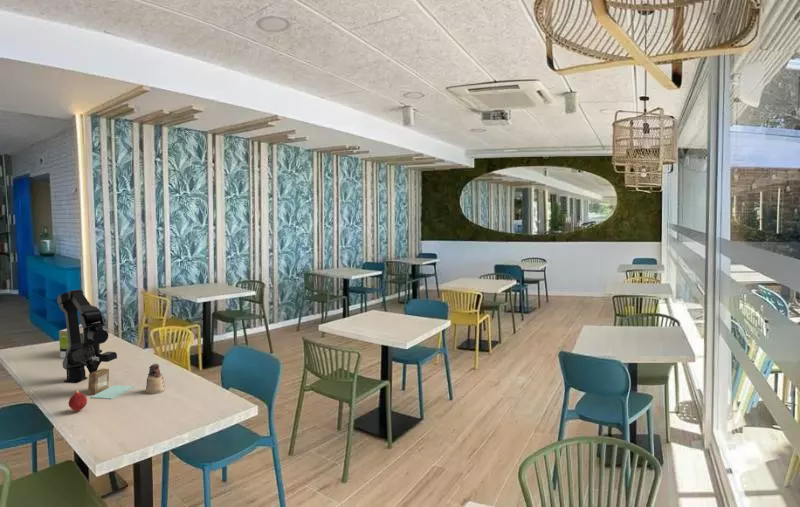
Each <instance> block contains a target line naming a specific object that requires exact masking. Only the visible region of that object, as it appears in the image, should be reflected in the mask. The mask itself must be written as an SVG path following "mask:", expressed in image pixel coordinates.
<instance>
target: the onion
mask: <svg viewBox="0 0 800 507" xmlns="http://www.w3.org/2000/svg"><path fill="white" fill-rule="evenodd" d="M87 402H88V398H87V396H86V395H85V394H84V393H82V392H80V391H79V390H76V391H75V392H74V394H73V395H72V396H71V397H70V398H69V401H68V407H69V408H70V409H72V410H73V411H75V412H80V411H82V409H84V408H85V407H86V405H87Z"/></svg>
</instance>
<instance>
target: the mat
mask: <svg viewBox="0 0 800 507" xmlns="http://www.w3.org/2000/svg"><path fill="white" fill-rule="evenodd" d="M133 388H134V385H122V384H121V385H120V384H119V385H118V384H112V386H110V387H109V386H108V388H107V389H105V390H103V391H101V392H99V393H97V394H95V395H91V397H90V399H101V398H102V399H103V400H104V399H105V400H113V399H115V398H116V397H118V396H120V395H122V394H123V393H125V392H127V391H130V389H133ZM102 399H101V400H102Z"/></svg>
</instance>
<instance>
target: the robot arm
mask: <svg viewBox="0 0 800 507" xmlns="http://www.w3.org/2000/svg"><path fill="white" fill-rule="evenodd" d="M56 301H57V304H58V305H59V309H60V310H61V312H63V313H64V318H65V324H66V329H67V334H68V342H69V347H68V349H67V351H66V353H65V354H66V356H65V358H63V360H62V363H61V364H62V368H63V369H64V370H66V379H65V380H63V381H64V383H75V384H76V383H80V382H82V381H84V380H87V379H88V376H86V374H87V373H86V368H87V371H88V373H89V374H90V373H92V372H94V371H97V370H99V367H100V364H102V362H103V363H104V362H105V363H109V362H111V361H113V360H115V359H118V353H117V352H115V351H106V352H103V349H100V348H101V344H104V343H106V342H107V340H108V339H109V332H108V331H106V330H105V329H104V327H106V319H105V316H104V314H103V313H102V311H101V310H100V309H99V308H98V307H97V306H93V305H92V304H91V303H90V302H89V300H88V299H87V298H86V296H85V295H84V291H83V290H82V289H73V290H69V291H67V292H64V293H60V294H59V295H58V296H57V299H56ZM78 312H79V314H78ZM80 324H81V325H82V327H83V343H81V337H80V329H79V325H80ZM85 367H86V368H85Z"/></svg>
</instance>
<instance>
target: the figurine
mask: <svg viewBox="0 0 800 507" xmlns="http://www.w3.org/2000/svg"><path fill="white" fill-rule="evenodd" d="M148 369H149V370H148V371H149V372H148V374H147V377H146V387H145V392H146V394H148V395H149V394H150V395H155V394H161V393H163V392H165V390H166V388H165V387H166V385H165V379H164V375H163V373H161V369H160V365H159V364H158V363H152V364H151V365H150V366H149V367H148Z"/></svg>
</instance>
